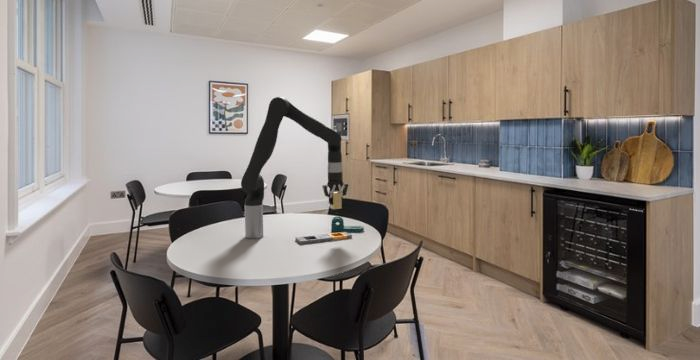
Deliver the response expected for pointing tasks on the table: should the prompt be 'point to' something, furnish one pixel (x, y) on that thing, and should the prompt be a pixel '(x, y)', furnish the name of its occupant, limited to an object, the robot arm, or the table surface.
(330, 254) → the table surface
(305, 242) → the rail
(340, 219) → the bracket
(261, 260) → the table surface
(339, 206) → the block
